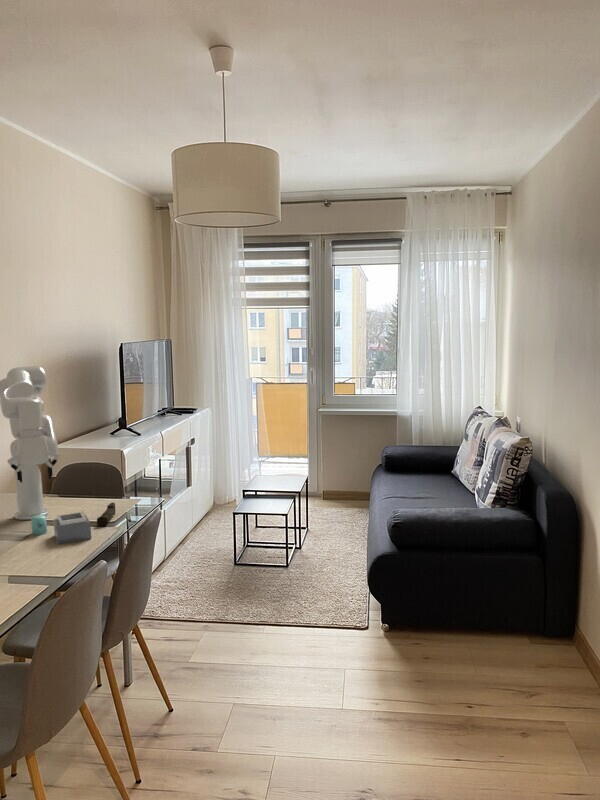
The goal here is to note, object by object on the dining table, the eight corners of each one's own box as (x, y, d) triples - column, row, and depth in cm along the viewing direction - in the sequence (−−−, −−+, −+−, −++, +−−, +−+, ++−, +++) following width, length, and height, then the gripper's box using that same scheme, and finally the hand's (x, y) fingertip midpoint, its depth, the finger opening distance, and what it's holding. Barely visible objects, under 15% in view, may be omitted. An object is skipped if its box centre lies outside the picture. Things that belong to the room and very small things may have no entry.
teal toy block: (31, 532, 237) (30, 516, 236) (46, 529, 239) (45, 514, 239) (33, 537, 231) (31, 521, 231) (48, 534, 233) (46, 518, 233)
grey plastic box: (54, 535, 232) (53, 515, 231) (86, 530, 237) (85, 510, 236) (58, 544, 222) (56, 523, 222) (91, 538, 227) (89, 518, 226)
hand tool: (107, 526, 241) (106, 514, 241) (96, 527, 241) (96, 515, 241) (121, 512, 260) (120, 501, 260) (111, 512, 260) (110, 501, 260)
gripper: (56, 429, 239) (59, 474, 241) (4, 434, 231) (8, 481, 233) (58, 432, 232) (61, 478, 234) (5, 437, 225) (9, 485, 226)
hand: (35, 479), depth 234 cm, fingers open, 9 cm apart
